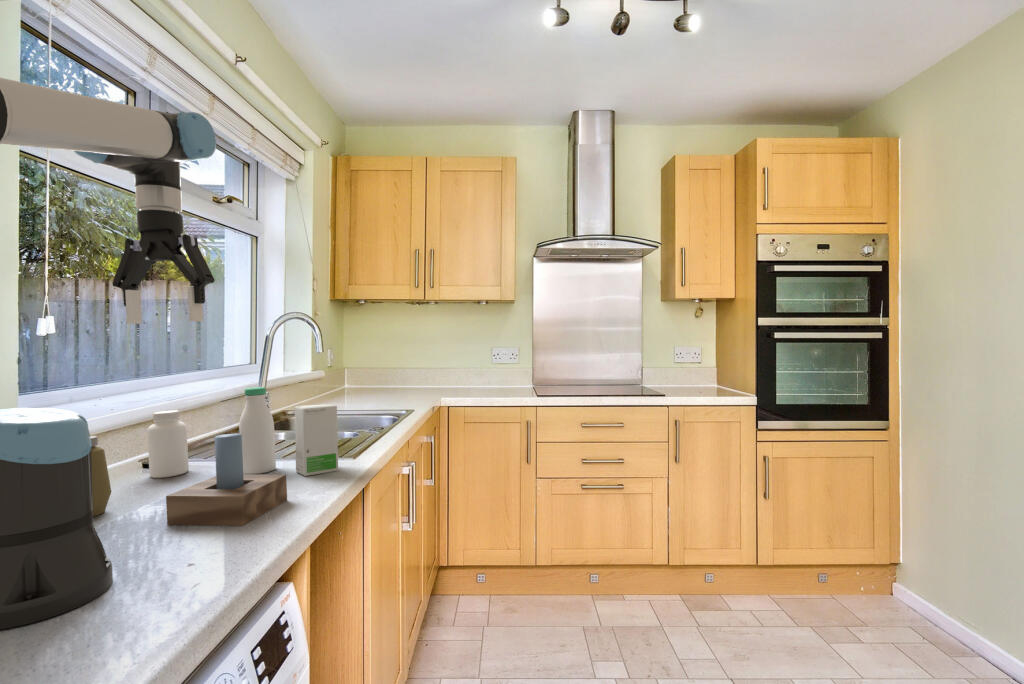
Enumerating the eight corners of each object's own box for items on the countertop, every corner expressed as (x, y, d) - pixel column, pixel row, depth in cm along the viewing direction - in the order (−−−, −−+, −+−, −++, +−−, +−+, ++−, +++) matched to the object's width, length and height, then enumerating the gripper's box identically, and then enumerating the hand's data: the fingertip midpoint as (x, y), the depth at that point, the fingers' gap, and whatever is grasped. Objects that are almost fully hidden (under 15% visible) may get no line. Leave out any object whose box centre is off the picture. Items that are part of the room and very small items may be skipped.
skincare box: (304, 477, 123) (301, 408, 122) (294, 472, 128) (292, 406, 127) (340, 470, 128) (337, 404, 128) (329, 465, 133) (327, 402, 133)
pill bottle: (155, 472, 132) (152, 410, 132) (192, 468, 134) (190, 408, 134) (144, 480, 124) (141, 415, 124) (183, 476, 127) (181, 412, 127)
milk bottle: (282, 469, 131) (279, 386, 131) (252, 476, 124) (249, 390, 124) (263, 465, 135) (260, 385, 135) (233, 473, 128) (230, 389, 128)
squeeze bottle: (81, 524, 95) (77, 422, 95) (44, 522, 97) (39, 421, 96) (123, 509, 103) (119, 414, 103) (88, 507, 104) (84, 414, 104)
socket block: (242, 525, 91) (241, 496, 91) (167, 524, 93) (166, 495, 93) (287, 500, 105) (286, 474, 105) (220, 499, 107) (219, 474, 107)
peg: (234, 516, 97) (231, 438, 97) (212, 515, 97) (209, 438, 97) (249, 508, 101) (246, 433, 101) (228, 507, 102) (225, 433, 101)
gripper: (231, 211, 106) (236, 320, 106) (120, 220, 110) (126, 324, 110) (203, 203, 98) (208, 319, 99) (86, 212, 103) (91, 324, 103)
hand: (165, 322), depth 105 cm, fingers open, 13 cm apart
